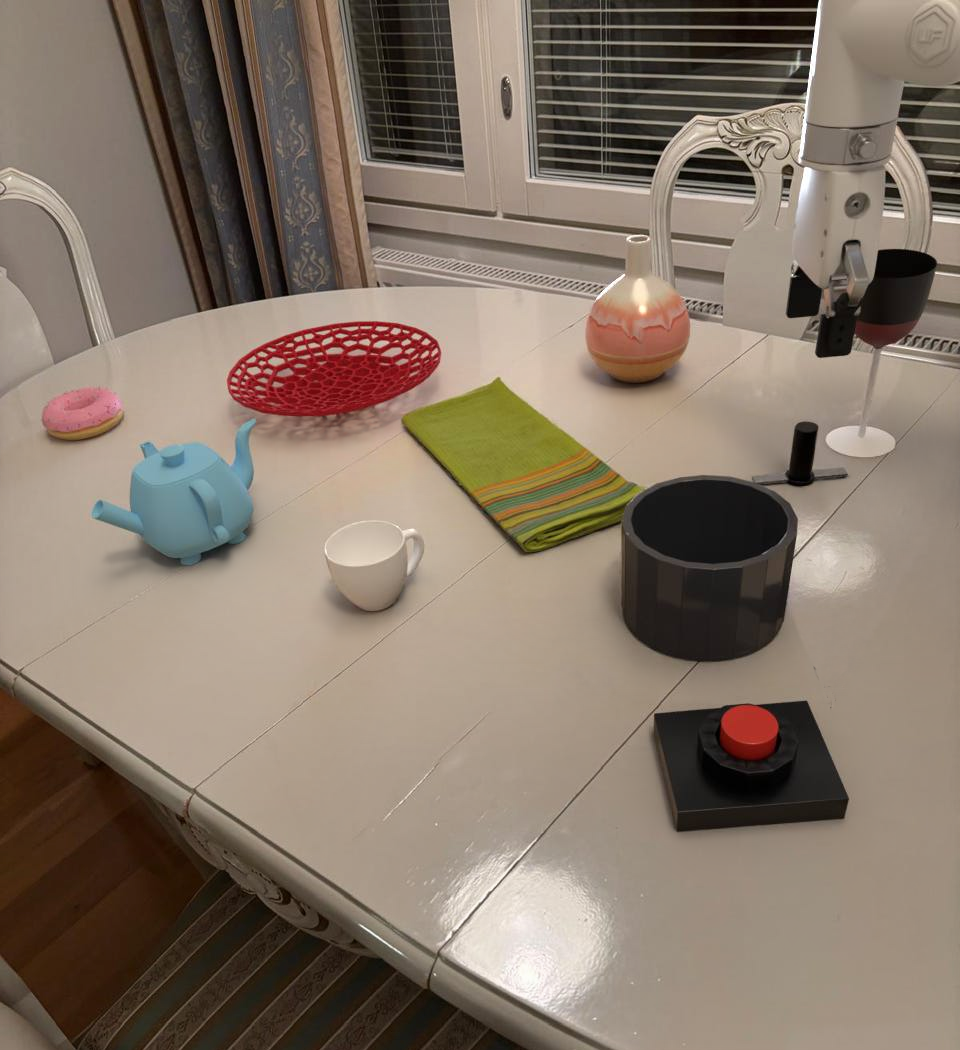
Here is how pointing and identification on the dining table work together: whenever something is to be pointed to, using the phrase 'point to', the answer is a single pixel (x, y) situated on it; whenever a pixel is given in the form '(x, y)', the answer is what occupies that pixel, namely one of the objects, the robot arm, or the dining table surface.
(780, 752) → the base unit
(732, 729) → the button
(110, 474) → the dining table surface
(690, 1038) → the dining table surface
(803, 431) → the blade
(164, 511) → the teapot
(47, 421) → the doughnut
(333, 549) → the cup
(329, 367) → the bowl
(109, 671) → the dining table surface
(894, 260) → the wineglass
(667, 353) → the vase
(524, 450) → the dish towel
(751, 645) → the dark grey round bin
